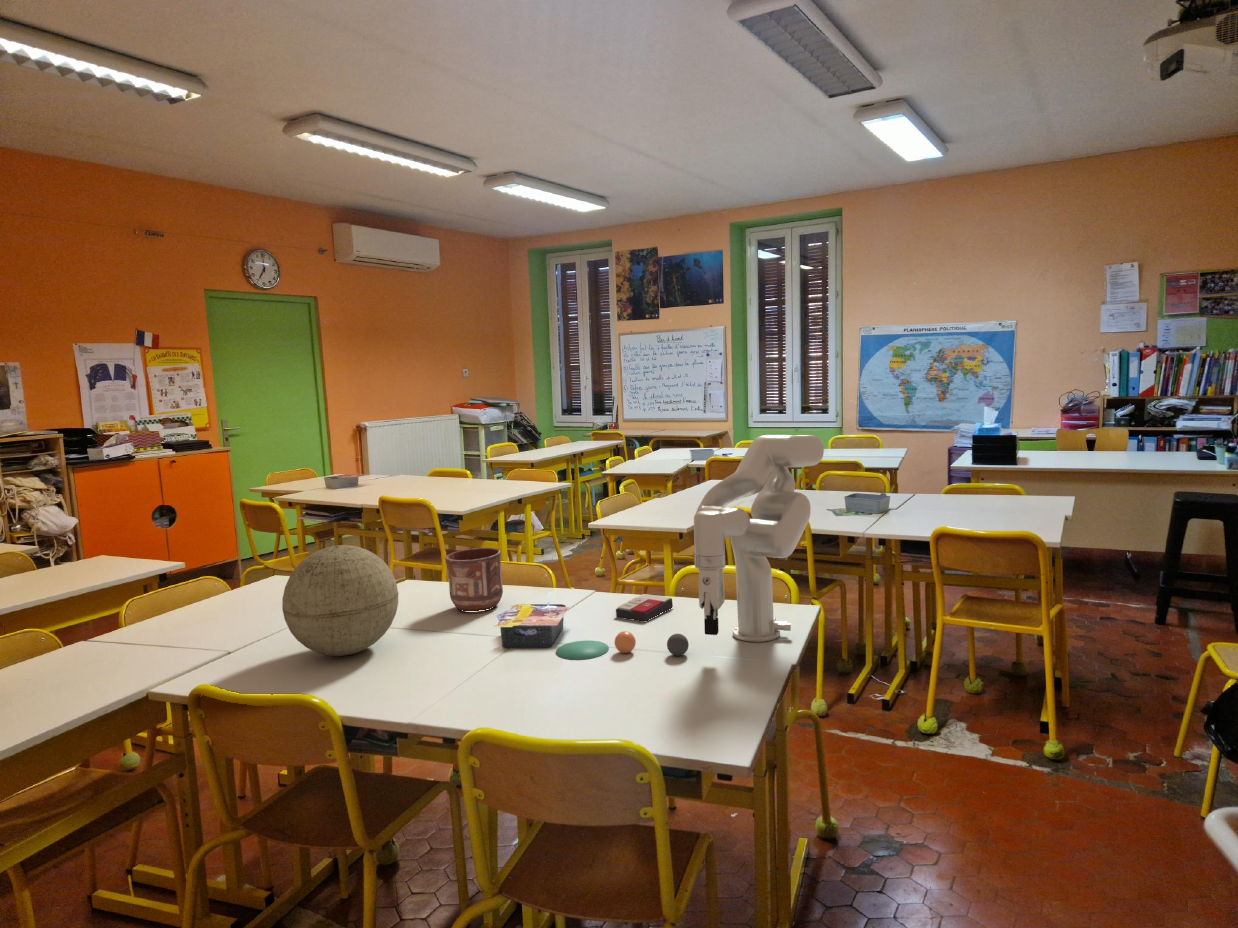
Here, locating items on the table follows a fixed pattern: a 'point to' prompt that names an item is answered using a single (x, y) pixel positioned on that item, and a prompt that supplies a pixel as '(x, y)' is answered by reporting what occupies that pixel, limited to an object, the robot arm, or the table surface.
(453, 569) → the pottery
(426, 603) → the table surface
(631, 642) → the ball
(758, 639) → the robot arm
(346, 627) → the celestial globe
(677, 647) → the ball
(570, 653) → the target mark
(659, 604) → the calculator
